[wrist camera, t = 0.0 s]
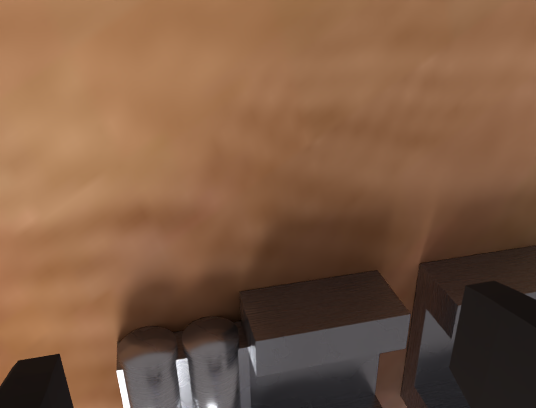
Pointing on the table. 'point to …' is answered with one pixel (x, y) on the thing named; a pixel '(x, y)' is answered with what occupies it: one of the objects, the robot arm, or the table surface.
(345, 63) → the table surface
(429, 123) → the table surface
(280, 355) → the chain end
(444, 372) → the chain end
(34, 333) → the table surface
